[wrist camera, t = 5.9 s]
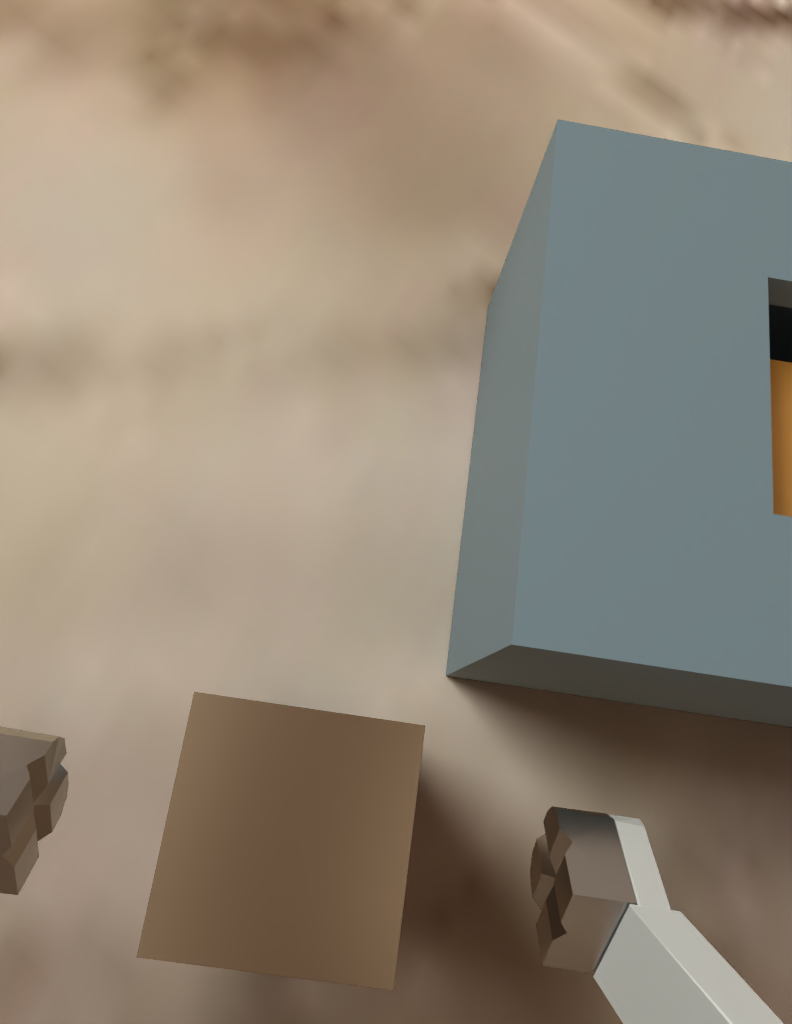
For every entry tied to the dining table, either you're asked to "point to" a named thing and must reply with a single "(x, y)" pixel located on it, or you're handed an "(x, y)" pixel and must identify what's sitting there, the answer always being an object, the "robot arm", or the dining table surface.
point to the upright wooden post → (286, 843)
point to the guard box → (634, 435)
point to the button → (781, 435)
